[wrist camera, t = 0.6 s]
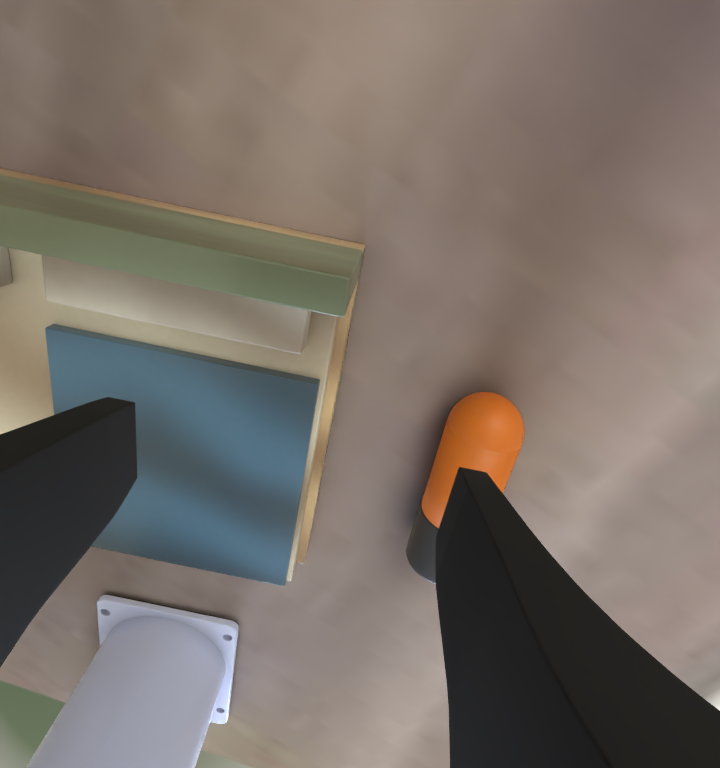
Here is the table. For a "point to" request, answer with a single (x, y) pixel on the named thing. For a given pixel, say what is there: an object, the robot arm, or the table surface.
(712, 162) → the table surface
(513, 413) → the orange capsule container
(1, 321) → the bed
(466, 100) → the table surface
